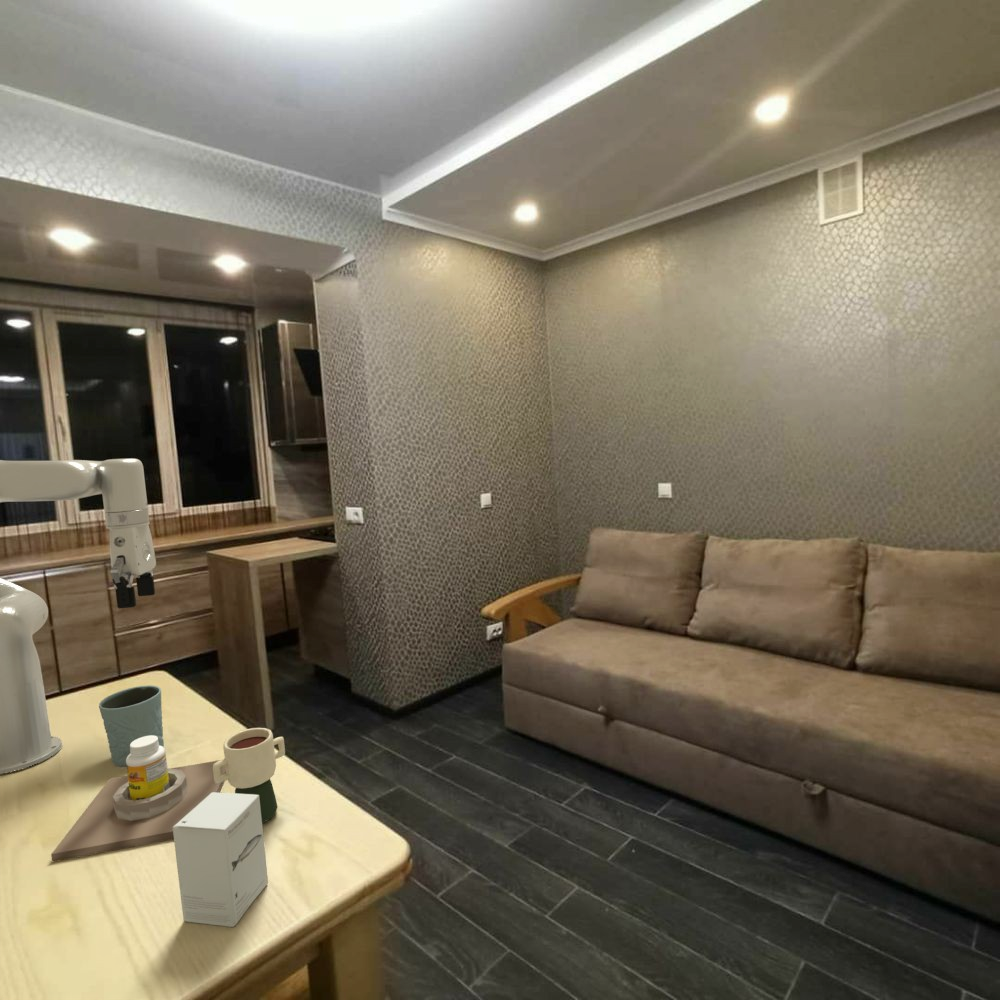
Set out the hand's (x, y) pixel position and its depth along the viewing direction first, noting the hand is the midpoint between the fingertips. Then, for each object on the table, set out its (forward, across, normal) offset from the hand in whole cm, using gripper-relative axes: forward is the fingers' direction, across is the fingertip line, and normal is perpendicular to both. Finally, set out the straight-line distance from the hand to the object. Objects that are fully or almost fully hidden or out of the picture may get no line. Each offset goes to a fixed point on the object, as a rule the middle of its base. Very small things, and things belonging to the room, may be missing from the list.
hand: (137, 601), depth 121 cm
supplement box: (+28, -56, -29) cm, 69 cm away
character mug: (+28, -38, -29) cm, 55 cm away
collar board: (+28, -30, -11) cm, 43 cm away
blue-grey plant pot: (+28, -11, -1) cm, 30 cm away
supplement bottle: (+27, -30, -11) cm, 42 cm away
